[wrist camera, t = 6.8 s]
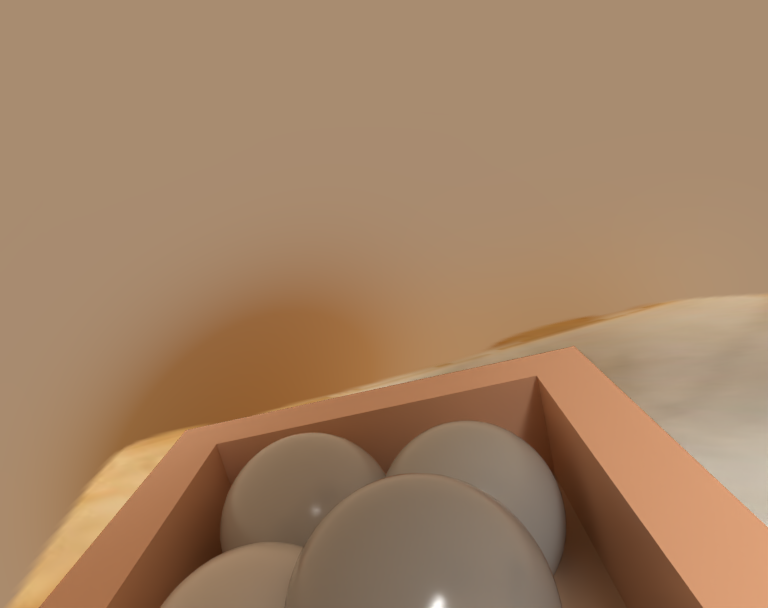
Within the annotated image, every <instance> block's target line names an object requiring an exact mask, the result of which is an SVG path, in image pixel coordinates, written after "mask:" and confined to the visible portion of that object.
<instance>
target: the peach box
mask: <svg viewBox="0 0 768 608" xmlns="http://www.w3.org/2000/svg"><path fill="white" fill-rule="evenodd" d="M39 608H768V527H767V526H766V525H765V524H764V523H763V522H761V521H760V520H759V519H758V518H757V517H756V516H755V515H754V514H753V513H752V512H751V511H750V510H749V509H748V508H747V507H745V506H744V505H743V504H742V503H741V502H740V501H739V500H738V499H737V498H736V497H735V496H734V495H733V494H732V493H730V492H729V491H728V490H727V489H726V488H725V487H724V486H723V485H722V484H721V483H720V482H719V481H718V480H717V479H716V478H714V477H713V476H712V475H711V474H710V473H709V472H708V471H707V470H706V469H705V468H704V467H703V466H702V465H701V464H700V463H698V462H697V461H696V460H695V459H694V458H693V457H692V456H691V455H690V454H689V453H688V452H687V451H686V450H685V449H684V448H682V447H681V446H680V445H679V444H678V443H677V442H676V441H675V440H674V439H673V438H672V437H671V436H670V435H669V434H667V433H666V432H665V431H664V430H663V429H662V428H661V427H660V426H659V425H658V424H657V423H656V422H655V421H654V420H653V419H651V418H650V417H649V416H648V415H647V414H646V413H645V412H644V411H643V410H642V409H641V408H640V407H639V406H638V405H637V404H635V403H634V402H633V401H632V400H631V399H630V398H629V397H628V396H627V395H626V394H625V393H624V392H623V391H622V390H620V389H619V388H618V387H617V386H616V385H615V384H614V383H613V382H612V381H611V380H610V379H609V378H608V377H607V376H606V375H604V374H603V373H602V372H601V371H600V370H599V369H598V368H597V367H596V366H595V365H594V364H593V363H592V362H591V361H590V360H588V359H587V358H586V357H585V356H584V355H583V354H582V353H581V352H580V351H579V350H578V349H577V348H576V347H575V346H573V347H568V348H563V349H559V350H554V351H550V352H545V353H540V354H536V355H531V356H527V357H522V358H517V359H513V360H508V361H503V362H499V363H494V364H490V365H485V366H480V367H476V368H471V369H467V370H462V371H457V372H453V373H448V374H443V375H439V376H434V377H430V378H425V379H420V380H416V381H411V382H407V383H402V384H397V385H393V386H388V387H383V388H379V389H374V390H370V391H365V392H360V393H356V394H351V395H347V396H342V397H337V398H333V399H328V400H323V401H319V402H314V403H310V404H305V405H300V406H296V407H291V408H287V409H282V410H277V411H273V412H268V413H263V414H259V415H254V416H250V417H245V418H240V419H236V420H231V421H227V422H222V423H217V424H213V425H208V426H203V427H199V428H194V429H190V430H186V431H185V432H184V433H183V434H182V436H181V437H180V438H179V439H178V440H177V442H176V443H175V444H174V445H173V446H172V448H171V449H170V450H169V451H168V453H167V454H166V455H165V456H164V457H163V459H162V460H161V461H160V462H159V463H158V465H157V466H156V467H155V468H154V469H153V471H152V472H151V473H150V474H149V475H148V477H147V478H146V479H145V480H144V481H143V483H142V484H141V485H140V486H139V488H138V489H137V490H136V491H135V492H134V494H133V495H132V496H131V497H130V498H129V500H128V501H127V502H126V503H125V504H124V506H123V507H122V508H121V509H120V510H119V512H118V513H117V514H116V515H115V516H114V518H113V519H112V520H111V521H110V523H109V524H108V525H107V526H106V527H105V529H104V530H103V531H102V532H101V533H100V535H99V536H98V537H97V538H96V539H95V541H94V542H93V543H92V544H91V545H90V547H89V548H88V549H87V550H86V551H85V553H84V554H83V555H82V556H81V558H80V559H79V560H78V561H77V562H76V564H75V565H74V566H73V567H72V568H71V570H70V571H69V572H68V573H67V574H66V576H65V577H64V578H63V579H62V580H61V582H60V583H59V584H58V585H57V586H56V588H55V589H54V590H53V591H52V593H51V594H50V595H49V596H48V597H47V599H46V600H45V601H44V602H43V603H42V605H41V606H40V607H39Z"/></svg>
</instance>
